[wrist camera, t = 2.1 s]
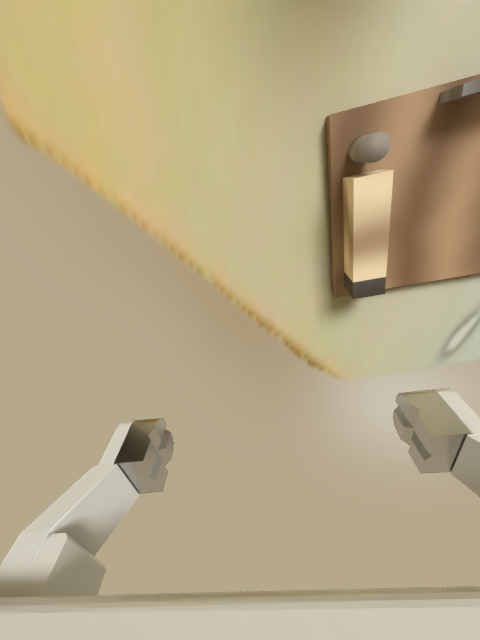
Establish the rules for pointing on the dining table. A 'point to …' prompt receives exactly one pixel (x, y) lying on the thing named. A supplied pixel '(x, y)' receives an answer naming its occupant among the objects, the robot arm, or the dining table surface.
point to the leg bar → (366, 231)
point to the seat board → (414, 179)
